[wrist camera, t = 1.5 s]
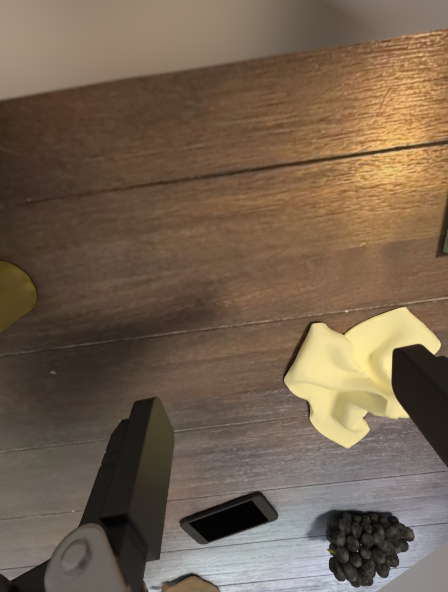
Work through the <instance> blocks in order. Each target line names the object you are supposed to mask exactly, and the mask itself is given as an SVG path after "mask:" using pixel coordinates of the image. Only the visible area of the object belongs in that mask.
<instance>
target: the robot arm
mask: <svg viewBox="0 0 448 592" xmlns="http://www.w3.org/2000/svg"><path fill="white" fill-rule="evenodd" d="M391 385H392V389H393V392H394V395H395V397H396V399H397V401H398V402H399V403H400V405H401V406H402V407H403V409H404V410H405V411H406V413H407V414H408V415H409V417H410V418H411V419H412V421H413V422H414V423H415V425H416V426H417V427H418V429H419V430H420V431H421V433H422V434H423V435H424V437H425V438H426V439H427V441H428V442H429V443H430V445H431V446H432V447H433V449H434V450H435V451H436V453H437V454H438V455H439V457H440V458H441V459H442V461H443V462H444V463H445V465H446V466H447V467H448V358H447V357H444V356H440V357H436V356H435V355H434V354H432V353H431V352H430V351H429V350H428V349H427V348H426V347H425V346H423V345H422V344H413V345H409V346H404V347H399V348H395V349H394V350H393V352H392V376H391ZM173 449H174V432H173V428H172V425H171V423H170V421H169V418H168V416H167V414H166V412H165V409H164V407H163V405H162V403H161V401H160V399H159V398H158V397H153V398H148V399H143V400H138V401H135V403H134V404H133V407H132V411H131V414H130V417H129V419H124V420H122V421H121V422H120V423H119V425H118V426H117V428H116V429H115V430H114V432H113V433H112V434H111V437H110V440H109V443H108V446H107V449H106V453H105V454H104V457H103V460H102V463H101V464H102V466H101V467H100V468H99V471H98V474H97V477H96V480H95V483H94V485H93V488H92V491H91V494H90V497H89V499H88V502H87V505H86V508H85V511H84V514H83V516H82V519H81V522H80V524H79V526H78V528H76V529H74V530H73V531H72V532H70V533H69V534H68V535H67V536H66V537H65V538H64V539H63V540H62V541H61V542H60V544H59V545H58V546H57V548H56V549H55V551H54V552H53V554H52V556H51V558H50V559H49V560H47V561H45V562H44V563H42V564H40V565H38V566H37V567H35V568H33V569H31V570H29V571H27V572H26V573H24V574H22V575H20V576H18V577H17V578H15V579H13V580H11V581H9V580H8V579H7V578H6V577H4V576H3V575H1V574H0V592H148V589H147V587H146V585H145V582H144V581H143V577H144V571H145V565H146V562H147V561H153V560H159V559H160V552H161V544H162V536H163V528H164V520H165V512H166V504H167V496H168V488H169V481H170V473H171V465H172V457H173Z"/></svg>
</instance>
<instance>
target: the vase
mask: <svg viewBox="0 0 448 592" xmlns="http://www.w3.org/2000/svg"><path fill="white" fill-rule="evenodd" d="M36 300H37V293H36V289H35V287H34V284H33V283H32V281H31V279H30V278H29V277H28V275H27V274H26V273H25V272H23V271H22V270H21V269H19V268H18V267H16V266H15V265H13V264H10V263H7V262H4V261H0V333H1V332H2V331H3V330H5V329H6V328H7V327H9V326H10V325H11V324H13V323H14V322H15V321H16V320H18V319H19V318H20V317H22V316H24V315H26V314H27V313H28V312H30V311H31V310H32V309H33V307H34V306H35V303H36Z"/></svg>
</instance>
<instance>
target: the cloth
mask: <svg viewBox="0 0 448 592" xmlns="http://www.w3.org/2000/svg"><path fill="white" fill-rule="evenodd" d="M413 344H422V345H423V346H425V347H426V348H427V349H428V350H429V351H430V352H431V353H432V354H435V353H436V352H437V351H438V350H439V348H440V346H441V344H440V341H439V340H438V339H437V337H436V336H435V335H434V334H433V332H432V331H430V330H429V329H428V328H427V327H426V326H425V325H424V323H422V322H421V321H420V320H419V319H417V318H416V317H415V316H414V315H412V314H411V313H410V312H409V311H408V309H407V308H406V307H401V308H397V309H394V310H391V311H388V312H385V313H383V314H380V315H377V316H374V317H372V318H370V319H368V320H366V321H363V322H361V323H359V324H358V325H356V326H354V327H353V328H351V329H350V330H348V331H347V332H346V333H345V334H344V335H342V334H340V333H337V332H335V331H333V330H331V329H330V328H328V327H327V325H326V324H325V323H314V324H312V325H311V328H310V330H309V332H308V334H307V336H306V338H305V341H304V343H303V344H302V346H301V348H300V350H299V352H298V355H297V357H296V359H295V361H294V363H293V364H292V366H291V368H290V370H289V371H288V373H287V375H286V376H285V378H284V382H285V384H286V385H287V387H288V388H289V390H290V391H291V392H292V393H293V394H295V395H296V396H298V397H300V398H303V399H306V400H307V401H308V402H309V404H310V420H311V422H312V424H313V426H314V427H315V428H316V429H317V430H318V431H319V432H320V433H321V434H323V435H324V436H326V437H327V438H329V439H331V440H333V441H335V442H337V443H338V444H340V445H342V446H344V447H346V448H350V447H351V446H353V445H354V444H355V443H357V442H358V441H359V440H360V439H362V438H363V437H364V436H365V435H366V434H367V433H368V432H369V430H370V428H369V427H368V424H367V422H366V420H364V419H363V417H364V416H365V415H366V414H367V412H370V413H372V414H374V415H377V416H386V417H388V418H393V419H398V417H400V418H409V415H408V414H407V413H406V411H405V410H404V409H403V407H402V406H401V405H400V403H399V402H398V401H397V399H396V397H395V395H394V392H393V389H392V385H391V376H392V352H393V350H394V349H395V348H399V347H404V346H409V345H413Z"/></svg>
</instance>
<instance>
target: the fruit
mask: <svg viewBox="0 0 448 592" xmlns="http://www.w3.org/2000/svg"><path fill="white" fill-rule="evenodd" d="M414 537H415V535H414V533H413V530H412V529H410V528H409V527H406V526H405V525H404V524H402V523H399V521H398V519H397V518H396V517H394V516H392V515H391V516H389V517H387V520H386V519H385V518H383V517H377V515H376V514H374V513H370V514H369V515H368V516H366V515H362V516H361V518H360V517H359V516H358V515H353V516H351V515H350V514H349V513H342V517H341V519H339V518H330V519H329V520H328V526H327V530H326V538H327V540H328V541H329V542H330V543H331V544H330V545H329V549H327V550H328V551H329V552H330V554H331V555H332V556H333V557H331V558H330V560H329V569H330V571H331V572H333V573H334V576H335V578H336V579H337V580H339V581H342V582H343V581H345V579H347V580H348V581H349V582H350V583H351V585H352V586H354V587H357V588H358V587H360V586H371V585H372V584H373V578H374V577H375V574H376V572H377V573H378V575H379V576H380V577H382V578H386V577H388V575H389V571H390V566H391V567H394V568H396V567H397V566H398V565H399V559H398V556H397V554H398V553H400V552H406V551H407V550H408V547H409V545H408V543H407V542H406V541H409V542H411V541H414ZM360 543H361V544H360ZM361 545H362V546H361ZM357 550H358V552H357ZM337 558H338V559H337Z"/></svg>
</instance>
